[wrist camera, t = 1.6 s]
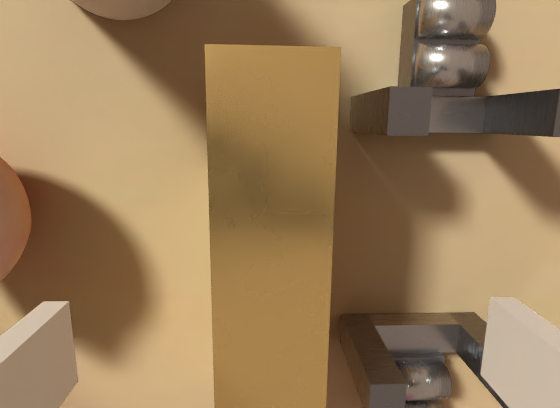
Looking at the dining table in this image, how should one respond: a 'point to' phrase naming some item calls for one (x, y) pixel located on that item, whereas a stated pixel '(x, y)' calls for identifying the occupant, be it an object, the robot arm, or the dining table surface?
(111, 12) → the cup
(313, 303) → the link bar
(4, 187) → the decorative fruit
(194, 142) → the dining table surface
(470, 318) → the pair of grey pieces
